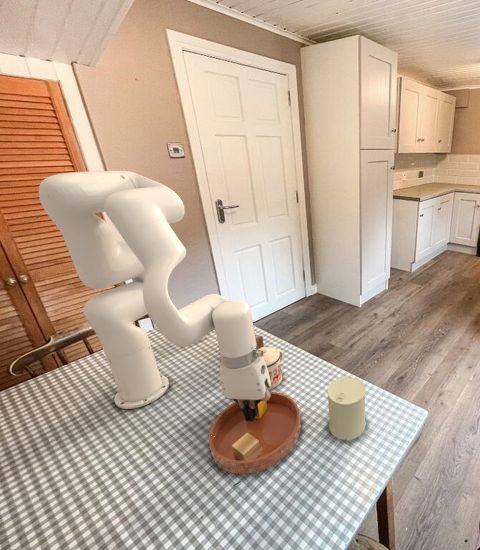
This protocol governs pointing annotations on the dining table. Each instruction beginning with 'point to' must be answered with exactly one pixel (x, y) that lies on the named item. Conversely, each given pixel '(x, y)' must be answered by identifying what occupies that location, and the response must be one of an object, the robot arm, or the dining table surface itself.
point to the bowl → (256, 434)
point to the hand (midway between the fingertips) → (252, 416)
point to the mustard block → (261, 409)
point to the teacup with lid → (273, 364)
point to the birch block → (246, 448)
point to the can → (346, 407)
